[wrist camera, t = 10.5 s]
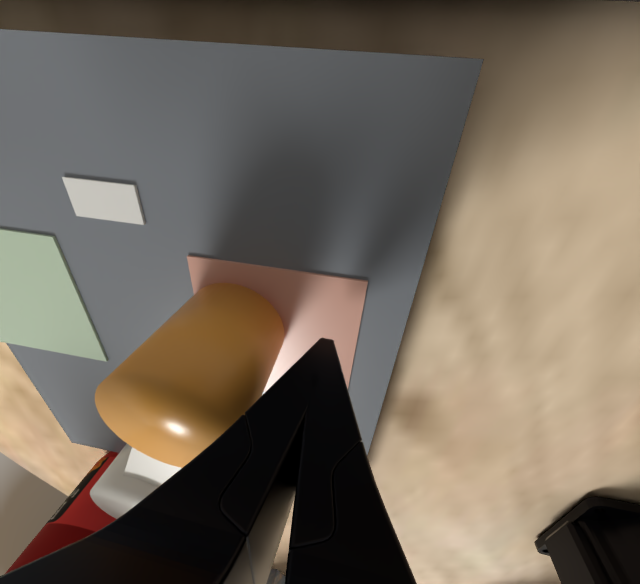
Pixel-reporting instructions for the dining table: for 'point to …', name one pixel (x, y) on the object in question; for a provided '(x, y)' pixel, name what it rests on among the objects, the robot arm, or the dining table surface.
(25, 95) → the panel
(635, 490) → the dining table surface
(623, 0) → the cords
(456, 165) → the dining table surface
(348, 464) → the robot arm
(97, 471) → the canned food
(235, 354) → the lever
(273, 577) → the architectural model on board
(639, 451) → the dining table surface
